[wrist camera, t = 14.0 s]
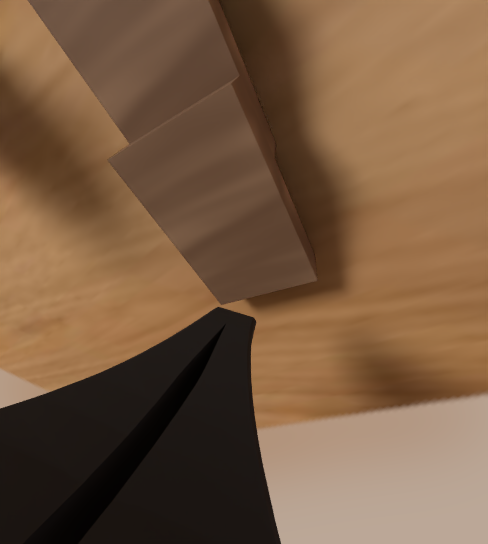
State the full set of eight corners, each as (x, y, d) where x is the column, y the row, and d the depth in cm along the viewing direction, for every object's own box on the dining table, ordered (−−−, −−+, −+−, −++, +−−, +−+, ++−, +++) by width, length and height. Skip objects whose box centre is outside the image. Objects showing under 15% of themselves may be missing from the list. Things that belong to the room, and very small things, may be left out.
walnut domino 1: (274, 158, 10) (134, -179, 6) (173, 205, 12) (11, -24, 8) (276, 144, 12) (162, -141, 7) (184, 188, 14) (51, -15, 9)
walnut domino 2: (317, 280, 12) (230, 83, 7) (221, 304, 14) (107, 160, 9) (314, 255, 13) (240, 74, 9) (227, 280, 15) (130, 143, 11)
